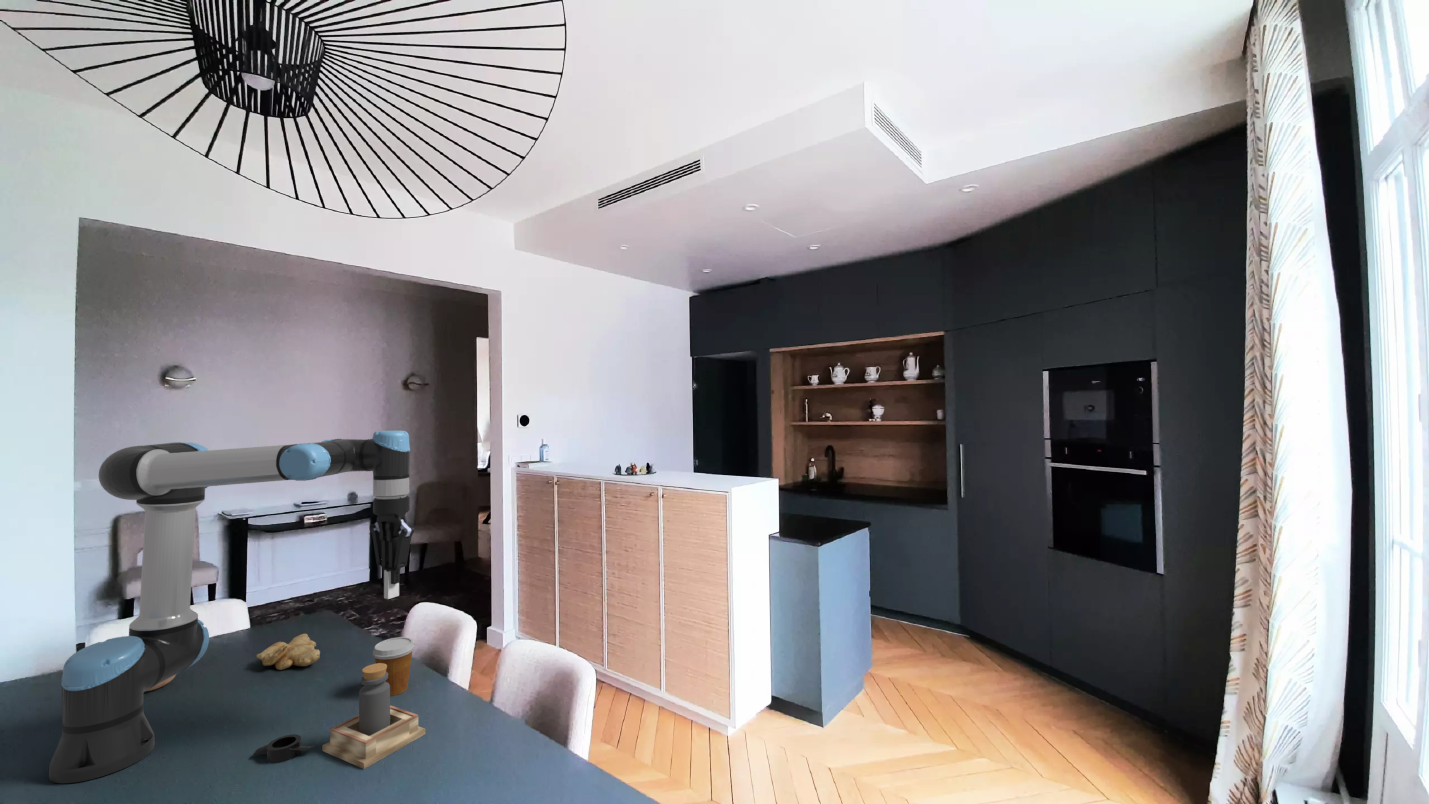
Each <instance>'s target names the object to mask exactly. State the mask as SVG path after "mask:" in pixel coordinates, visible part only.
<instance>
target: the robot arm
mask: <svg viewBox="0 0 1429 804" xmlns="http://www.w3.org/2000/svg"><path fill="white" fill-rule="evenodd" d="M410 445H411V444H410V435H409V433H408V432H407V431H405V430H400V429H399V430H396V429H395V430H393V429H392V430H376V431H374V432H373V434H372V438H367V439H354V438H351V439H349V438H347V439H346V438H345V439H344V438H343V439H342V438H334V439H333V438H332V439H324V440H322V441H318V442H308V443H307V442H306V443H295V444H279V445H268V446H267V445H265V446H255V447H254V446H253V447H238V448H225V449H212V450H209V449H208V448H207V447H206V446H204V445H202V444H199V443H194V442H180V441H178V442H166V443H157V444H155V443H154V444H146V445H135V446H134V445H133V446H128V447H125V448H121V449H119V450H117V451H115V452H113V453H112V454H110V455H109V456H108V457H106V458H105V459H104V461H103V462H102V464H101V465H100V466H99V471H98V482H99V484H100V485H101V487H102V489H103V490H105V492H107V493H108V494H110V495H111V496H113V497H115V498H118V499H122V500H127V501H129V500H130V501H136V503H135V504H136V505H137V506H138V507H140V508H141V509H142V510H144V525H143V526H144V528H143V543H142V544H143V545H142V561H141V563H142V564H141V565H142V566H141V577H140V578H141V580H140V599H139V613H138V614H139V615H138V616H137V617H136V618H135V619H134V620H133V621H131V622H130V623H129V625H128V635H124V636H118V637H113V638H108V639H106V640H104V641H98V642H95V643H92V644H90V645H88V646H85V647H84V648H81V649H78V651H76V652H75V653H72V655H71V656H69V657H68V659H67V660H66V661H65V662H64V665H63V669H62V676H61V678H60V679H61V680H60V685H61V705H62V706H61V711H62V714H61V717H62V718H61V720H62V730H61V731H62V732H61V737H60V739H59V742H58V744H57V746H56V749H55V751H54V753H53V756H52V758H51V761H50V763H49V767H48V771H49V772H48V779H49V780H50V781H51V782H53V783H56V784H57V783H58V784H72V783H74V784H75V783H79V782H85V781H89V780H94V779H98V778H101V777H104V776H107V775H110V774H114V773H115V772H118V771H119V772H120V770H123V769H125V768H127V767H128V768H129V766H132V765H134V764H136V763H139V761H141V760H143V759H144V758H146V757H147V756H148V755H149V754H150V753H151V752H152V751H154V748H155V747H156V746H155V741H156V740H155V738H156V737H155V733H154V731H153V729H152V726H151V725H150V723H149V721H148V719H147V717H146V715H145V713H144V693H145V692H147V691H146V690H148V689H150V688H152V687H154V686H156V685H157V684H159V683H161V682H163V681H165V680H167V679H169V678H170V677H172V676H174V675H176V676H177V675H180V674H182V673H183V672H185V671H186V670H188V669H190V667H192V666H194V665H195V664H196V663H197V662H198V661H200V660H201V658H202V657H203V656H204V655H205V653H206V651H207V649H208V646H209V643H210V633H209V629H208V627H207V626H204V622H203V621H202V620H200V619H199V613H197V612H195V610H193V609H191V596H192V595H191V593H192V579H193V564H194V563H193V561H194V542H195V525H196V509H197V507H198V506H199V505H201V504H202V503H203V502H205V499H206V498H205V497H206V489H208V487H217V486H218V487H219V486H231V485H243V484H254V483H267V482H268V483H269V482H281V481H298V482H299V481H300V482H302V481H304V482H306V481H311V480H316V479H319V478H323V477H327V476H334V475H338V474H343V473H349V472H351V473H352V472H372V495H373V496H374V498H373V500H372V513H373V514H374V515H376V516H377V517H376V522H375V523H374V524H370V525H369V530H370V533H371V535H372V541H373V543H372V544H373V549H374V554H375V562H376V566H378V567H379V566H380V567H381V569H382V570H383V577H382V578H383V579H382V580H383V598H384V599H385V600H389V599H393V598H396V597H400V583H401V582H400V581H401V579H400V578H401V576H400V573H401V572H400V571H401V568H405V567H407V565H408V559H409V554H410V547H411V543H412V542H411V541H412V536H413V534H414V532H415V528H414V527H413V526H412V527H411V526H409V525H408V524H407V523H408V521H407V517H406V514H407V513H408V512H410V501H411V500H410V496H409V494H410V454H411V446H410ZM144 691H145V692H144Z"/></svg>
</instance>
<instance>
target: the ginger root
mask: <svg viewBox="0 0 1429 804" xmlns="http://www.w3.org/2000/svg"><path fill="white" fill-rule="evenodd" d="M315 647H317V643H316V642H315V641H314V640H312V639H311V638H310V637H309V634H307V633H302V634H299V635H297V636H295V637H293V638H292V639H291V640H290V641H289V642H288V643H286V642H285V641H278V642H277V641H276V642H275V643H273V644H272V645H270V646H269V647H266V649H264V650H263V651H261V653H257V654H256V658H257V659H259V660H261V662H262V663H261V664H262V666H263V667H266V666H272V665H274V666H275V668H276V670H280V671H282V670H286V669H288V668H290V667H292V666H294V667H295V666H296V667H297V666H298V667H307V666H309V665H312V664H314V663H316V662H317V661H318V660H320V658H321V657H320V654H321V650H319V649H315Z"/></svg>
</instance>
